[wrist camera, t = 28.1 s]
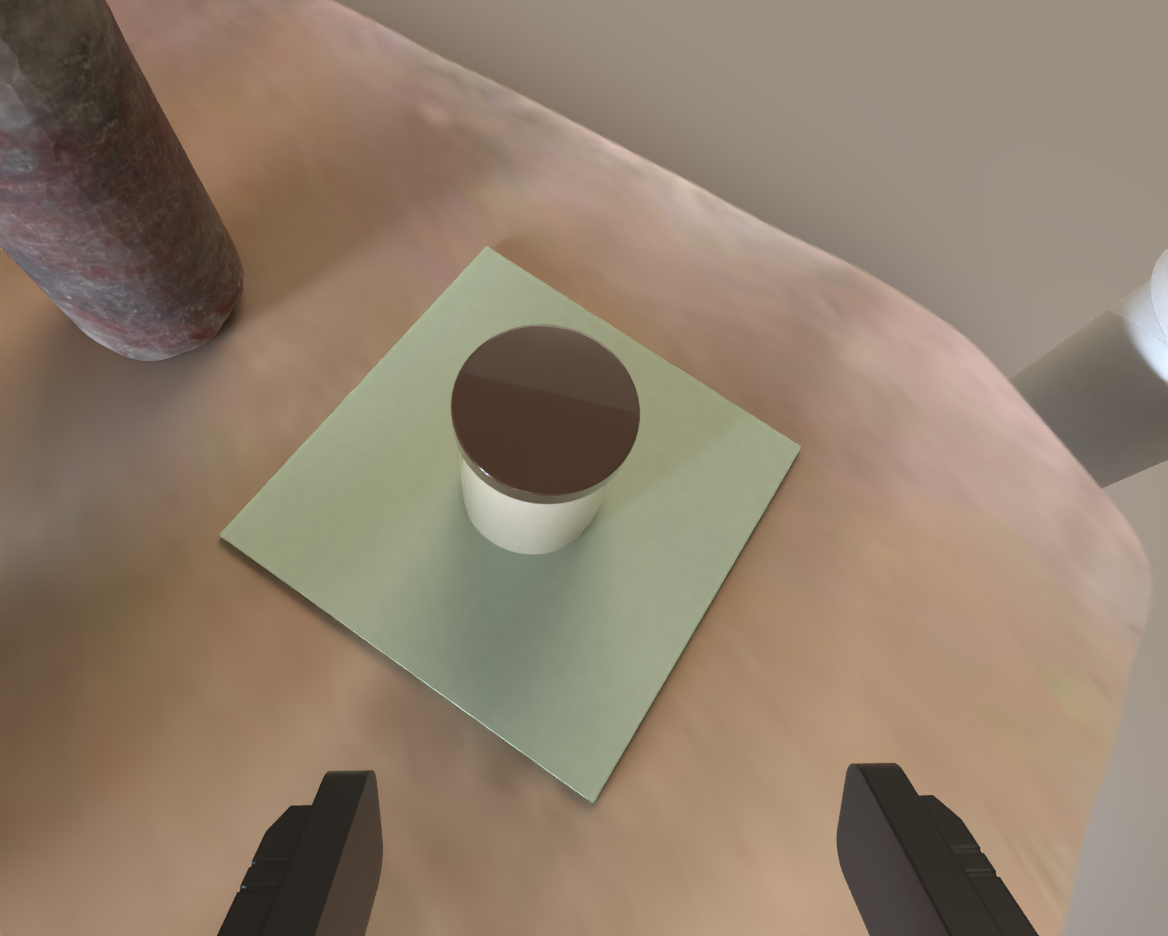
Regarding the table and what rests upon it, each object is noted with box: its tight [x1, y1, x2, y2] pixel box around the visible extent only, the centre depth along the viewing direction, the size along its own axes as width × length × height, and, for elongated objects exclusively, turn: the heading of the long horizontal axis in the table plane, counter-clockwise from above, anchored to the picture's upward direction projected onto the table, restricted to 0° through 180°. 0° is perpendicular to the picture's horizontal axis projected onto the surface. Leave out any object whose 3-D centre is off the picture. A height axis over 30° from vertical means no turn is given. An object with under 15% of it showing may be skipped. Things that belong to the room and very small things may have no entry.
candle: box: [0, 0, 243, 361], centre depth 24 cm, size 8×7×20 cm
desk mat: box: [219, 246, 802, 803], centre depth 32 cm, size 18×18×1 cm
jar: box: [451, 324, 640, 554], centre depth 28 cm, size 6×6×8 cm
